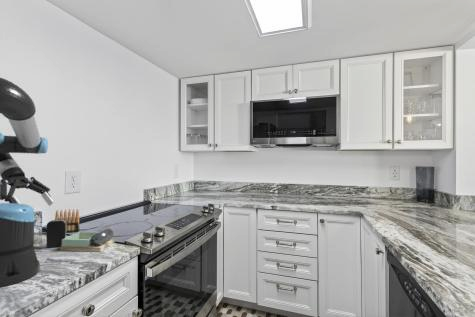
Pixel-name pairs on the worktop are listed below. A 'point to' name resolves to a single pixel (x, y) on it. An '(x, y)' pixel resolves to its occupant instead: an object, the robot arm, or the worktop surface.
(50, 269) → the worktop surface
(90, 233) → the mint green tray
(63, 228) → the battery charger
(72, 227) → the ammunition clip
